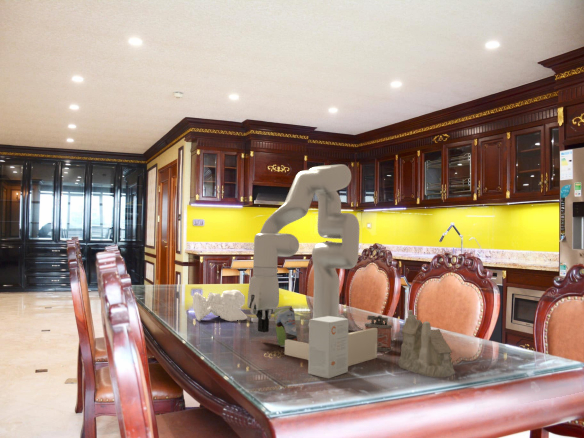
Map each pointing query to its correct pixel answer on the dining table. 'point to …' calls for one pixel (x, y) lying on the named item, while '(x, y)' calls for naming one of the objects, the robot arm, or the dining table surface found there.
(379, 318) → the lighter
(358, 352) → the box
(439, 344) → the ceramic cottage
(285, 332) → the beverage can
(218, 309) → the cherub figurine
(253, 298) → the robot arm
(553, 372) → the dining table surface
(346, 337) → the small box
